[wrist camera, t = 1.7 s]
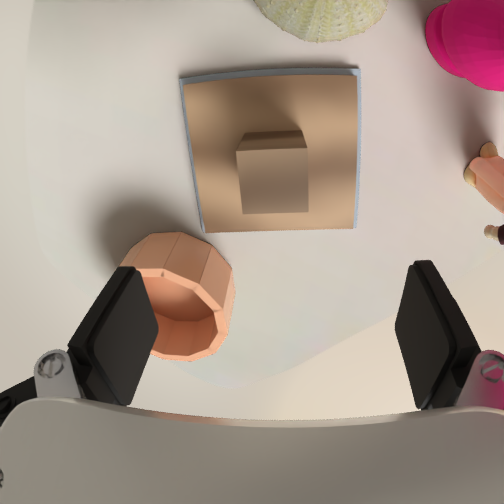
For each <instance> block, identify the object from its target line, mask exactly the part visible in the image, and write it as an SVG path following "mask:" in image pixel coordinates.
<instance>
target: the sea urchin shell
mask: <svg viewBox="0 0 504 504" xmlns="http://www.w3.org/2000/svg"><path fill="white" fill-rule="evenodd" d="M254 1H255V3H256V4H257V6H258V7H259V9H260V10H261V12H262V14H264V15H265V17H266V18H268V19H269V20H271V21H272V22H274V23H275V24H276V25H277V27H280V28H281V29H282V30H283V31H286V32H288V33H290V34H292V35H295V36H296V37H298V38H299V39H302V40H304V41H309V42H316V43H319V42H327V41H335V40H337V41H341V40H342V39H345V38H347V37H349V36H353V35H357V34H359V33H363V32H365V30H367V29H368V28H370V27H371V26H372V25H373V24H375V23H377V22H378V21H379V20H380V19H381V17H382V16H383V14H384V12H385V11H386V7H387V2H388V0H254Z"/></svg>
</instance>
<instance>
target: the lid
mask: <svg viewBox="0 0 504 504" xmlns="http://www.w3.org/2000/svg"><path fill="white" fill-rule="evenodd" d="M183 90H184V98H185V105H186V113H187V120H188V127H189V134H190V141H191V148H192V154H193V161H194V167H195V174H196V180H197V186H198V193H199V199H200V205H201V211H202V217H203V222H204V228H205V233H219V232H247V231H278V230H315V229H353V224H354V210H355V194H356V174H357V140H358V93H357V76H355V75H329V74H302V75H272V76H256V77H243V78H232V79H222V80H214V81H206V82H198V83H191V84H185V85H183Z"/></svg>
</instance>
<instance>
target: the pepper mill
mask: <svg viewBox="0 0 504 504" xmlns="http://www.w3.org/2000/svg"><path fill="white" fill-rule="evenodd" d="M425 32H426V40H427V44H428V47H429V49H430V52H431V54H432V55H433V57H434V58H435V60H436V61H437V62H438V64H439V65H440V66H441V67H442V68H443V69H445V70H446V71H447V72H449V73H451V74H453V75H455V76H458V77H462V78H466V79H467V80H469V81H470V82H472V83H473V84H475V85H477V86H479V87H481V88H484V89H487V90H494V91H504V0H451V1H450V2H449V3H448V4H444V5H441V6H438V7H437V8H435V9H434V10H433V11H432V12H431V13H430V15H429V17H428V19H427V22H426V29H425Z"/></svg>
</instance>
